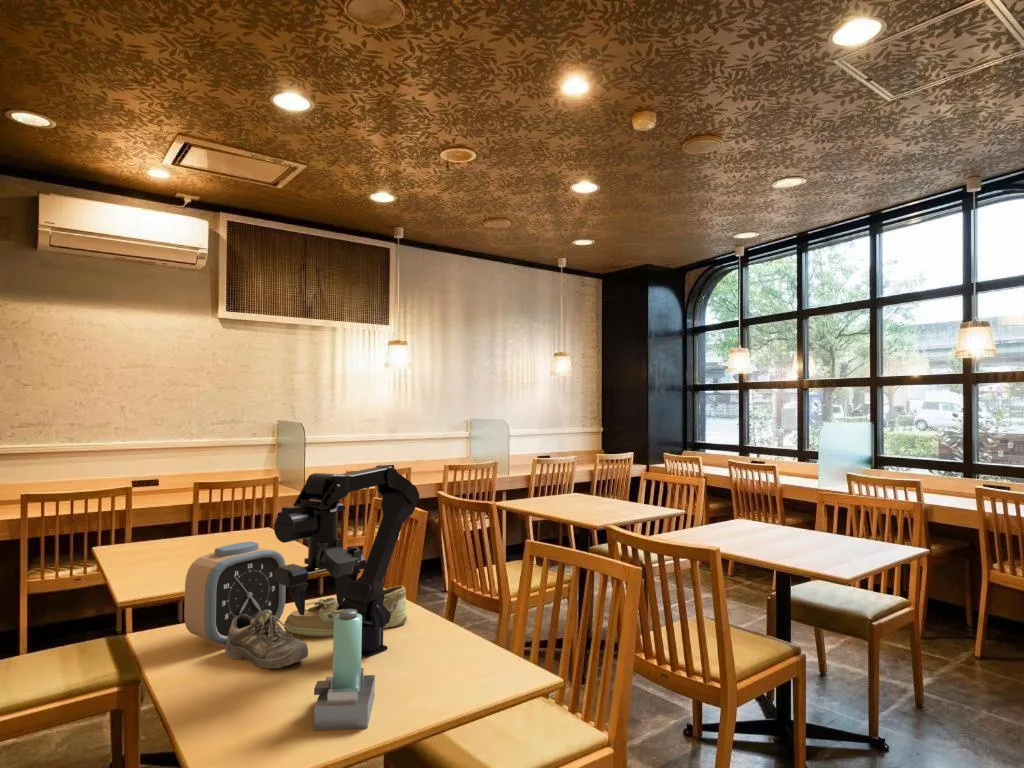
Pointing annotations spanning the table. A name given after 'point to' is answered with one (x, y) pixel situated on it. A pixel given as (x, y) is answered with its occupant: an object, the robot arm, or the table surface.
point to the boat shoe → (322, 615)
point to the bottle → (347, 650)
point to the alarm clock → (231, 589)
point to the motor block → (343, 705)
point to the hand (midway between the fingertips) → (321, 609)
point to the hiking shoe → (263, 641)
